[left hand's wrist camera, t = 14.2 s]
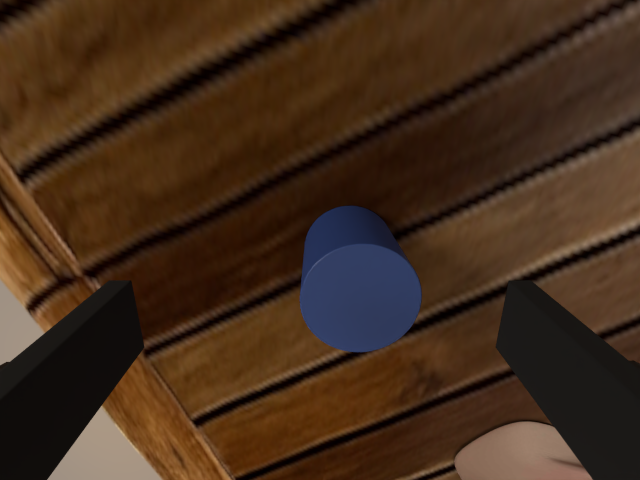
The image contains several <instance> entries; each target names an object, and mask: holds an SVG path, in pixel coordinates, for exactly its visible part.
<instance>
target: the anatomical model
mask: <svg viewBox="0 0 640 480" xmlns="http://www.w3.org/2000/svg"><path fill="white" fill-rule="evenodd" d="M455 467H456V470H457V472H458V474H459V475H460V477H461V479H462V480H593V479H592V478H591V476H590V475H589V474H588V472H587V471H586V470H585V468H584V467H583V465H582V464H581V463H580V461H579V460H578V459H577V457H576V456H575V455H574V453H573V452H572V450H571V449H570V448H569V446H568V445H567V444H566V442H565V441H564V440H563V438H562V437H561V435H560V434H559V433H558V431H557V430H556V429H555V427H553V426H550V425H546V424H542V423H537V422H530V421H524V422H515V423H511V424H507V425H504V426H502V427H499V428H497V429H495V430H492V431H490V432H488V433H486V434H485V435H483V436H481V437H479V438H478V439H476V440H474V441H473V442H471V443H470V444H468V445H467V446H466V447H464V448H463V449H462V450H461V451H460V452H459V453H458V454H457V456H456V458H455Z"/></svg>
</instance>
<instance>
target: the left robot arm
mask: <svg viewBox="0 0 640 480" xmlns="http://www.w3.org/2000/svg"><path fill="white" fill-rule="evenodd" d="M143 348H144V343H143V338H142V333H141V328H140V323H139V318H138V313H137V308H136V302H135V297H134V292H133V287H132V282H131V281H108V282H107V283H106V284H104V285H103V286H102V287H101V288H100V289H98V290H97V291H96V292H95V293H93V294H92V295H91V296H90V297H89V298H87V299H86V300H85V301H84V302H82V303H81V304H80V305H79V306H78V307H76V308H75V309H74V310H73V311H71V312H70V313H69V314H68V315H67V316H65V317H64V318H63V319H62V320H61V321H59V322H58V323H57V324H56V325H54V326H53V327H52V328H51V329H50V330H48V331H47V332H46V333H45V334H43V335H42V336H41V337H40V338H39V339H37V340H36V341H35V342H34V343H33V344H31V345H30V346H29V347H28V348H26V349H25V350H24V351H23V352H22V353H20V354H19V355H18V356H17V357H15V358H14V359H13V360H12V361H11V362H6V363H4V364H2V365H0V480H47V479H48V478H49V476H50V475H51V474H52V472H53V471H54V470H55V468H56V467H57V465H58V464H59V463H60V461H61V460H62V459H63V457H64V456H65V455H66V453H67V452H68V450H69V449H70V448H71V446H72V445H73V444H74V442H75V441H76V440H77V438H78V437H79V435H80V434H81V433H82V431H83V430H84V429H85V427H86V426H87V425H88V423H89V422H90V420H91V419H92V418H93V416H94V415H95V414H96V412H97V411H98V410H99V408H100V407H101V405H102V404H103V403H104V401H105V400H106V399H107V397H108V396H109V395H110V393H111V392H112V391H113V389H114V388H115V386H116V385H117V384H118V382H119V381H120V380H121V378H122V377H123V376H124V374H125V373H126V371H127V370H128V369H129V367H130V366H131V365H132V363H133V362H134V361H135V359H136V358H137V356H138V355H139V354H140V352H141V351H142V350H143ZM496 348H497V350H498V351H499V352H500V354H501V355H502V356H503V358H504V359H505V361H506V362H507V363H508V365H509V366H510V367H511V369H512V370H513V371H514V373H515V374H516V376H517V377H518V378H519V380H520V381H521V382H522V384H523V385H524V386H525V388H526V389H527V391H528V392H529V393H530V395H531V396H532V397H533V399H534V400H535V401H536V403H537V404H538V405H539V407H540V408H541V410H542V411H543V412H544V414H545V415H546V416H547V418H548V419H549V420H550V422H551V423H552V425H553V426H554V427H555V429H556V430H557V431H558V433H559V434H560V435H561V437H562V438H563V440H564V441H565V442H566V444H567V445H568V446H569V448H570V449H571V450H572V452H573V453H574V455H575V456H576V457H577V459H578V460H579V461H580V463H581V464H582V465H583V467H584V468H585V470H586V471H587V472H588V474H589V475H590V476H591V478H592V479H593V480H640V364H639V363H637V362H635V361H628V360H627V359H626V358H625V357H623V356H622V355H621V354H620V353H619V352H617V351H616V350H615V349H614V348H612V347H611V346H610V345H609V344H608V343H606V342H605V341H604V340H603V339H601V338H600V337H599V336H598V335H597V334H595V333H594V332H593V331H592V330H590V329H589V328H588V327H587V326H586V325H584V324H583V323H582V322H581V321H579V320H578V319H577V318H576V317H575V316H573V315H572V314H571V313H570V312H569V311H567V310H566V309H565V308H564V307H562V306H561V305H560V304H559V303H558V302H556V301H555V300H554V299H553V298H551V297H550V296H549V295H548V294H547V293H545V292H544V291H543V290H542V289H540V288H539V287H538V286H537V285H536V284H534V283H533V282H532V281H509V282H508V287H507V292H506V297H505V302H504V308H503V313H502V318H501V323H500V328H499V333H498V338H497V343H496Z"/></svg>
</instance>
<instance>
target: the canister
mask: <svg viewBox="0 0 640 480" xmlns="http://www.w3.org/2000/svg"><path fill="white" fill-rule="evenodd" d="M421 298H422V293H421V285H420V281H419V278H418V276H417V274H416V272H415V270H414V269H413V267H412V265H411V264H410V262H409V260H408V259H407V257H406V256H405V254H404V252H403V251H402V249H401V248H400V246H399V244H398V243H397V241H396V239H395V238H394V236H393V235H392V233H391V231H390V230H389V228H388V227H387V225H386V223H385V222H384V221H383V220H382V219H381V218H380V217H379V216H378V215H377V214H375V213H374V212H372V211H370V210H368V209H365V208H363V207H358V206H342V207H338V208H334V209H332V210H329V211H327V212H326V213H324V214H323V215H321V216H320V217H319V218H318V219H317V220H316V221H315V222H314V223H313V225H312V226H311V228H310V230H309V231H308V234H307V237H306V241H305V249H304V260H303V270H302V280H301V291H300V308H301V312H302V315H303V318H304V320H305V322H306V324H307V326H308V327H309V329H310V330H311V331H312V332H313V333H314V334H315V335H316V336H317V337H318V338H319V339H320V340H321V341H323V342H324V343H326V344H328V345H330V346H332V347H334V348H337V349H340V350H344V351H349V352H367V351H373V350H377V349H380V348H383V347H385V346H388V345H390V344H391V343H393V342H395V341H396V340H398V339H399V338H400V337H402V336H403V335H404V334H405V333H406V332H407V331H408V330H409V329H410V327H411V326H412V324H413V323H414V321H415V319H416V317H417V315H418V313H419V310H420V305H421Z"/></svg>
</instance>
